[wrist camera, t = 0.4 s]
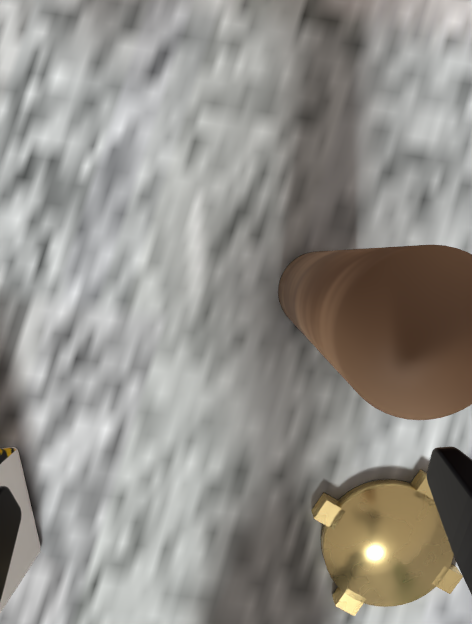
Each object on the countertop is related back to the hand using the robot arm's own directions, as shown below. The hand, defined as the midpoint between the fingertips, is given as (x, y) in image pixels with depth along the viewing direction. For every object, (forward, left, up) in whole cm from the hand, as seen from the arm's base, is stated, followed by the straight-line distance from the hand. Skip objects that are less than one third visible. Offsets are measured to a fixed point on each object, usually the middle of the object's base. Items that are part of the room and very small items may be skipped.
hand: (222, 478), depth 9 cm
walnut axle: (+5, -3, -15) cm, 16 cm away
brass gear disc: (-6, -15, -15) cm, 22 cm away
